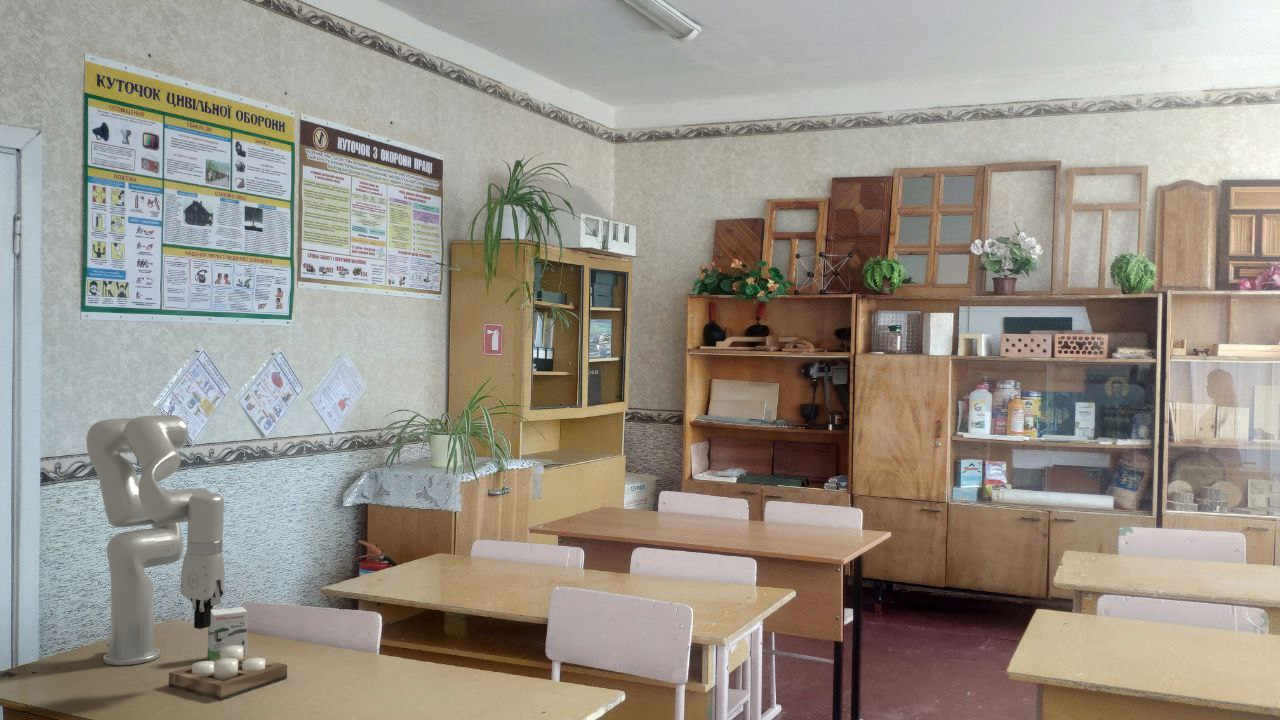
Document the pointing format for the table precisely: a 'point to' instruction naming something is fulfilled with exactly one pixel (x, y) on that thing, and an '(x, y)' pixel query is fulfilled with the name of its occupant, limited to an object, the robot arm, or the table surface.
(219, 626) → the ink box
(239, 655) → the button
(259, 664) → the button
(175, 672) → the button board
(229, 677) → the button
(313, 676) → the table surface
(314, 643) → the table surface
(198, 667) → the button
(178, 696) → the table surface
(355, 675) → the table surface
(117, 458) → the robot arm
